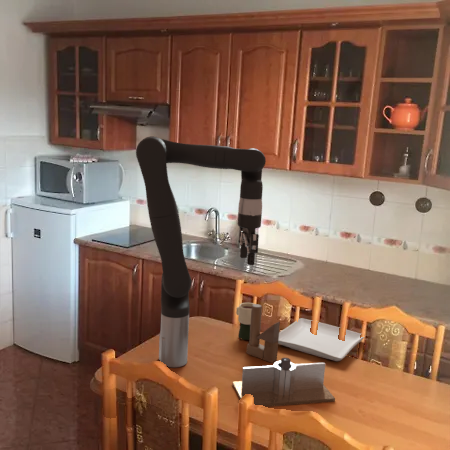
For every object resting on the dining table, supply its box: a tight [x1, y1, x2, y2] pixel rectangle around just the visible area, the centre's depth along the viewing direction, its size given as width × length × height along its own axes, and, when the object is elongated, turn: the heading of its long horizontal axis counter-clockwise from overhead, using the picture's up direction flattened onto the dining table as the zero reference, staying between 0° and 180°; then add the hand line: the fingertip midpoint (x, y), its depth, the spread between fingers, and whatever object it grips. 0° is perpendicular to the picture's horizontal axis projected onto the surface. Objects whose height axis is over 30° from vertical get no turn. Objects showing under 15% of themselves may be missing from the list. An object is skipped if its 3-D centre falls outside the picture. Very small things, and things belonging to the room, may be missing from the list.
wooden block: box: [246, 303, 281, 364], centre depth 184 cm, size 4×11×18 cm, turn 52°
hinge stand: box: [232, 360, 336, 408], centre depth 161 cm, size 28×14×9 cm, turn 103°
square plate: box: [278, 317, 364, 362], centre depth 199 cm, size 27×27×4 cm
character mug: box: [235, 302, 254, 341], centre depth 200 cm, size 11×7×13 cm, turn 50°
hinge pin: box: [280, 357, 292, 369], centre depth 160 cm, size 3×3×10 cm
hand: (246, 261), depth 172 cm, fingers open, 8 cm apart
